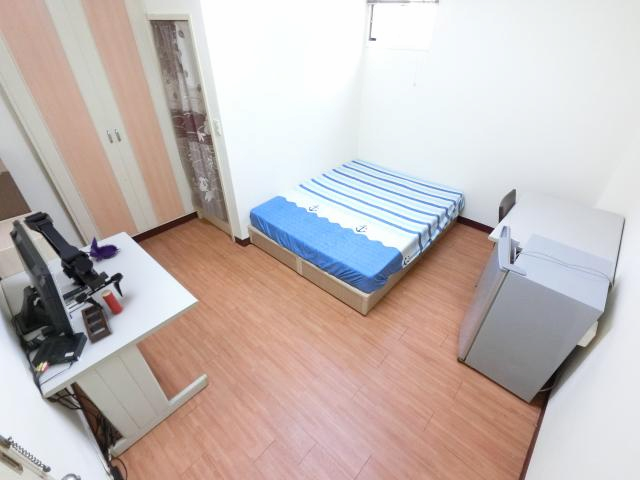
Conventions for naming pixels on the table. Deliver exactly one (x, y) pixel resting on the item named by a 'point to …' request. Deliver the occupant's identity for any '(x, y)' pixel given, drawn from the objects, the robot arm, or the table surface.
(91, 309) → the brown wooden rack
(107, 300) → the red cylinder
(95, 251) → the creature
